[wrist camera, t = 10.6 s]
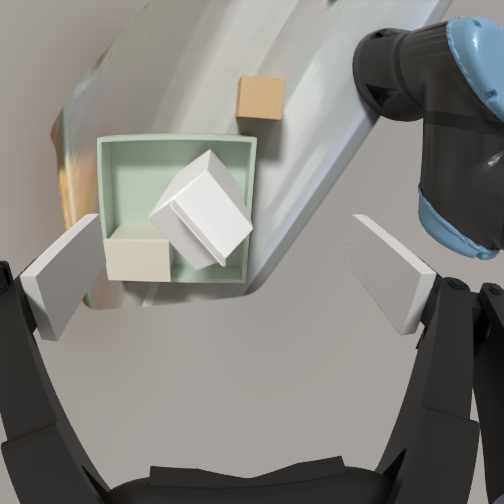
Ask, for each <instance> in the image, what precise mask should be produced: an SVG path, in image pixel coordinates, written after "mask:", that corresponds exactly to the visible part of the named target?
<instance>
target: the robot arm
mask: <svg viewBox="0 0 504 504" xmlns="http://www.w3.org/2000/svg"><path fill="white" fill-rule="evenodd" d="M353 74H354V79H355V82H356V85H357V87H358V90H359V92H360V94H361V95H362V97H363V98H364V100H365V101H366V102H367V104H368V105H369V106H370V107H371V108H372V109H373V110H374V111H376V112H377V113H378V114H380V115H382V116H384V117H386V118H388V119H391V120H396V121H405V122H408V121H409V122H410V121H416V120H419V119H421V118H423V150H422V166H421V178H420V183H419V186H418V191H419V194H420V196H419V211H418V213H419V219H420V222H421V224H422V225H423V227H424V228H425V230H426V232H427V233H428V234H429V235H430V236H431V237H432V238H434V239H435V240H436V241H437V242H439V243H440V244H442V245H444V246H445V247H447V248H449V249H450V250H452V251H454V252H457V253H459V254H461V255H464V256H467V257H470V258H474V257H477V258H479V259H480V260H489V259H492V258H494V257H496V255H497V254H498V253H499V252H500V250H501V249H502V250H504V29H503V28H502V27H500V26H499V25H498V24H496V23H495V22H493V21H491V20H489V19H487V18H484V17H477V16H476V17H465V18H460V17H457V18H456V17H455V18H452V19H451V20H449V21H445V22H441V23H437V24H434V25H430V26H427V27H423V28H420V29H417V30H414V31H408V30H402V29H396V28H385V29H380V30H377V31H375V32H372V33H370V34H368V35H367V36H365V37H364V38H363V39H362V40H361V41H360V43H359V44H358V46H357V48H356V50H355V53H354V57H353ZM430 123H431V124H430ZM345 263H346V264H347V265H348V266H349V267H350V269H351V270H352V271H353V273H354V274H355V275H356V277H357V278H358V279H359V280H360V282H361V283H362V284H363V286H364V287H365V288H366V290H367V291H368V292H369V294H370V295H371V296H372V297H373V299H374V300H375V301H376V303H377V304H378V306H379V307H380V308H381V310H382V311H383V312H384V314H385V315H386V316H387V318H388V319H389V321H390V322H391V323H392V325H393V326H394V327H395V329H396V330H397V332H398V333H399V334H400V335H408V334H414V333H415V332H416V330H417V327H418V325H419V322H420V321H421V322H422V323H423V324H424V326H425V328H424V330H423V332H422V334H421V337H420V339H419V342H418V344H417V346H416V349H418V352H417V356H416V360H415V363H414V367H413V370H412V374H411V377H410V381H409V384H408V387H407V391H406V394H405V397H404V400H403V403H402V406H401V409H400V412H399V415H398V418H397V420H396V423H395V426H394V428H393V431H392V434H391V436H390V439H389V441H388V444H387V446H386V449H385V451H384V453H383V456H382V458H381V460H380V462H379V464H378V466H377V468H376V469H375V471H371V470H367V469H362V468H357V467H348V466H344V462H343V459H342V457H341V456H337V457H332V458H326V459H321V460H315V461H309V462H302V463H297V464H294V465H291V466H288V467H285V468H282V469H280V470H276V471H273V472H270V473H267V474H264V475H261V476H257V477H254V478H241V477H235V476H230V475H224V474H219V473H214V472H210V471H205V470H201V469H189V468H188V469H187V468H170V467H157V466H151V467H150V477H147V478H141V479H136V480H132V481H129V482H126V483H123V484H121V485H119V486H117V487H115V488H113V489H110V488H109V487H108V485H107V484H106V483H105V482H104V480H103V479H102V477H101V476H100V475H99V473H98V472H97V470H96V469H95V467H94V465H93V464H92V462H91V460H90V459H89V457H88V455H87V454H86V452H85V450H84V448H83V447H82V445H81V443H80V441H79V439H78V438H77V436H76V434H75V432H74V430H73V428H72V426H71V424H70V422H69V420H68V418H67V416H66V414H65V412H64V410H63V408H62V406H61V403H60V401H59V399H58V397H57V395H56V392H55V390H54V388H53V385H52V383H51V381H50V378H49V376H48V373H47V371H46V368H45V365H44V363H43V360H42V357H41V354H40V352H39V349H38V346H37V343H36V340H35V338H34V335H33V332H34V331H35V329H36V327H37V328H38V331H39V333H40V336H41V338H42V339H44V340H51V341H58V339H59V337H60V336H61V334H62V332H63V331H64V329H65V327H66V325H67V323H68V322H69V320H70V319H71V317H72V315H73V314H74V312H75V310H76V309H77V307H78V305H79V304H80V302H81V301H82V299H83V297H84V296H85V294H86V293H87V291H88V290H89V288H90V286H91V285H92V283H93V282H94V280H95V279H96V277H97V276H98V274H99V273H100V271H101V270H102V268H103V267H104V265H105V264H106V256H105V250H104V243H103V236H102V229H101V222H100V214H86V215H85V216H84V217H83V218H82V219H80V220H79V221H78V222H77V223H76V224H75V225H73V226H72V227H71V228H70V229H69V230H68V231H67V232H65V233H64V234H63V235H62V236H61V237H60V238H59V239H58V240H57V241H55V242H54V243H53V244H52V245H51V246H50V247H49V248H48V249H47V250H46V251H45V252H44V253H42V254H41V255H40V257H38V258H36V259H35V260H34V261H33V262H31V263H30V264H29V266H28V267H26V268H25V269H24V271H23V272H21V273H20V274H19V275H18V276H17V278H15V280H13V277H12V274H11V270H10V267H9V263H8V262H6V261H0V413H1V417H2V421H3V425H4V428H5V432H6V436H7V440H8V441H6V442H3V443H2V445H1V450H2V455H3V458H4V461H5V464H6V467H7V470H8V473H9V476H10V479H11V481H12V484H13V487H14V489H15V492H16V494H17V497H18V499H19V502H20V504H467V502H468V498H469V493H470V489H471V484H472V479H473V474H474V469H475V463H476V457H477V450H478V442H479V434H480V430H481V438H482V446H483V456H484V469H485V481H486V491H487V497H488V502H489V504H504V290H503V289H502V288H501V287H500V286H499V285H497V284H495V283H493V284H492V283H483V285H482V287H481V290H480V292H479V293H475V292H470V288H469V287H468V285H467V284H465V283H464V282H462V281H461V280H459V279H456V278H451V277H445V278H442V277H441V276H440V275H439V274H438V273H437V272H436V271H434V270H433V269H432V268H430V266H429V265H427V264H425V262H424V261H423V260H422V259H420V258H419V257H418V256H416V255H414V254H413V253H412V252H411V251H410V250H409V249H407V248H406V247H405V246H404V245H403V244H401V243H400V242H399V241H398V240H396V239H395V238H394V237H393V236H391V235H390V234H389V233H387V232H386V231H385V230H384V229H383V228H381V227H380V226H379V225H377V224H376V223H375V222H374V221H372V220H371V219H370V218H368V217H367V216H366V215H356V214H352V219H351V226H350V233H349V238H348V245H347V250H346V255H345ZM472 386H473V390H474V394H475V400H476V405H477V411H478V417H479V423H478V422H477V421H474V420H470V411H471V399H472Z"/></svg>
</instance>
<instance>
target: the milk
mask: <svg viewBox="0 0 504 504" xmlns="http://www.w3.org/2000/svg"><path fill="white" fill-rule="evenodd" d="M148 218H149V220H150V221H151V222H152V223H153V224H154V225H155V226H156V228H157V229H158V230H159V231H160V232H161V233H162V234H163V235H164V236H165V238H166V239H167V240H168V241H169V242H170V243H171V244H172V245H173V246H174V247H175V249H176V250H177V251H178V252H179V253H180V254H181V255H182V256H183V257H184V258H185V259H186V260H187V262H188V263H189V264H190V265H191V266H192V267H193V268H194V269H195V270H199V269H202V268H204V267H207V266H209V265H212V264H215V263H217V262H219V263H220V264H221V265H222V266H223V267H225V266H226V262H225V259H226V258H227V257H228V256H229V255H230V253H231V252H232V251H233V250H234V249H235V248H236V247H237V246H238V245H239V244H240V243H241V242H242V241H243V239H244V238H245V237H246V236H247V235H248V234H249V233H250V232H251V231H252V230H253V226H252V223H251V220H250V217H249V214H248V211H247V209H246V206H245V203H244V200H243V197H242V194H241V192H240V189H239V186H238V183H237V181H236V179H235V178H234V177H233V176H232V174H231V173H230V172H229V170H228V169H227V168H226V167H225V165H224V164H223V163H222V161H221V160H220V159H219V158H218V156H217V155H216V154H215V153H214V151H213V150H212V149H211V148H209V149H208V150H206V151H205V152H204V153H202V154H201V155H200V156H199V157H197V158H196V159H195V160H193V161H192V162H191V163H190V164H188V165H187V166H186V167H185V168H183V169H182V170H181V171H180V172H179V173H177V174H176V175H175V177H174V178H173V180H172V181H171V183H170V184H169V186H168V187H167V189H166V190H165V192H164V193H163V195H162V196H161V198H160V199H159V201H158V203H157V204H156V206H155V207H154V209H153V210H152V212H151V214H150V215H149V217H148Z"/></svg>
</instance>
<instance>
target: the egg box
mask: <svg viewBox="0 0 504 504" xmlns="http://www.w3.org/2000/svg"><path fill="white" fill-rule="evenodd" d="M103 242H104V250H105V256H106V265H107V272H108V279H109V280H124V281H152V282H171V266H172V262H173V258H174V249H173V245H172V244H171V243H170V242H169V241H168V240H167V239H166V238H165V236H164V235H163V234H162V233H161V232H160V231H159V230H158V229H157V228H156V226H155V225H120V226H119V227H118V228H117V229H116V231H115V232H114V233H113V234H112V236H111V237H110V238H109V239H105V240H104V241H103Z"/></svg>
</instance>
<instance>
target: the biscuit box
mask: <svg viewBox="0 0 504 504" xmlns="http://www.w3.org/2000/svg"><path fill="white" fill-rule="evenodd" d="M284 86H285V80H283V79H275V78H267V77H257V76H245V75H242V76H241V78H240V79H239V81H238V89H237V101H236V114H235V117H248V118H260V119H271V120H281V119H282V108H283V97H284Z"/></svg>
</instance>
